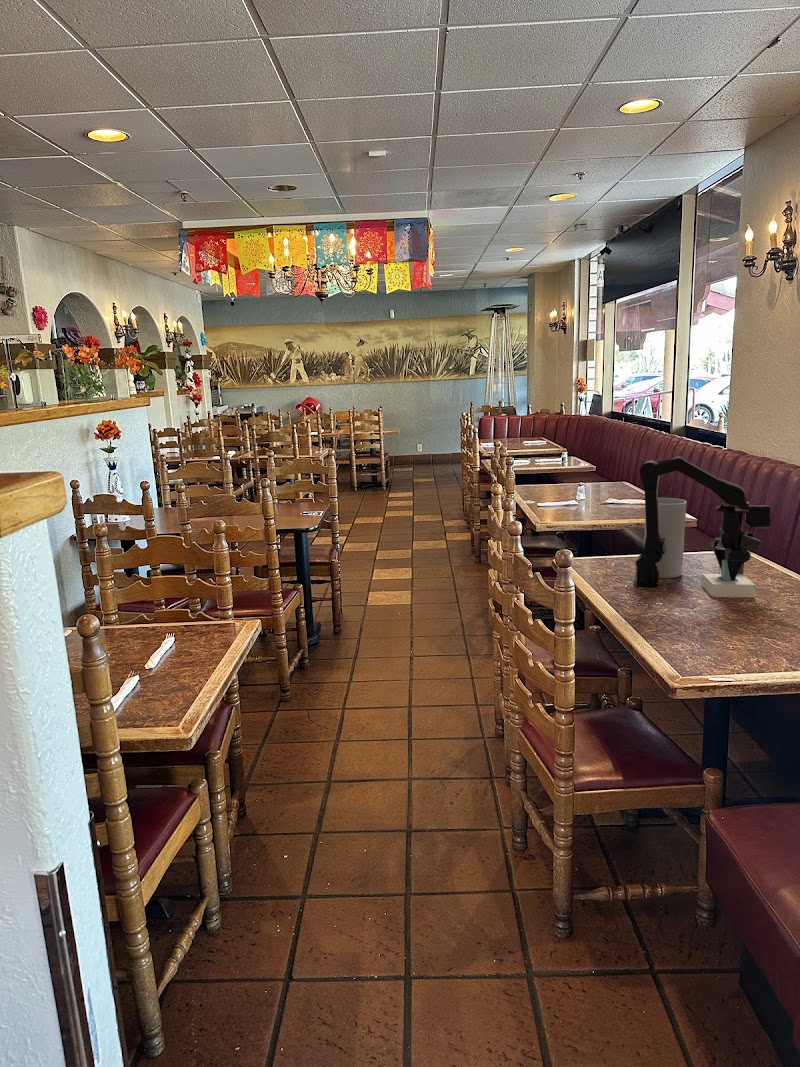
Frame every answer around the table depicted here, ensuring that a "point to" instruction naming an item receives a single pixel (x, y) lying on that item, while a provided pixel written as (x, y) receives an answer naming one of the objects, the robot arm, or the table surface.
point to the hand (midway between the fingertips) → (728, 575)
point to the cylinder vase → (671, 536)
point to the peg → (725, 572)
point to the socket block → (728, 586)
